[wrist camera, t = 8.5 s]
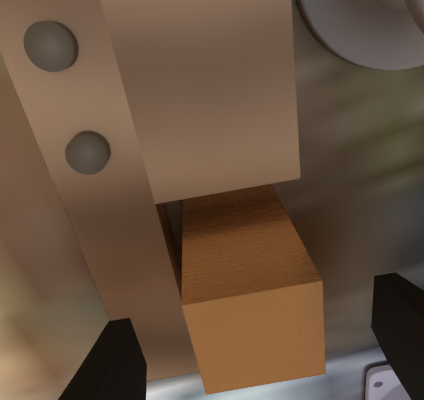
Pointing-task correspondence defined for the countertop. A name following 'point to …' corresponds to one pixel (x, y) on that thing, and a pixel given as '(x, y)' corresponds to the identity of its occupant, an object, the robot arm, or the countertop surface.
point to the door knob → (369, 30)
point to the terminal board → (152, 131)
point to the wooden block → (249, 291)
